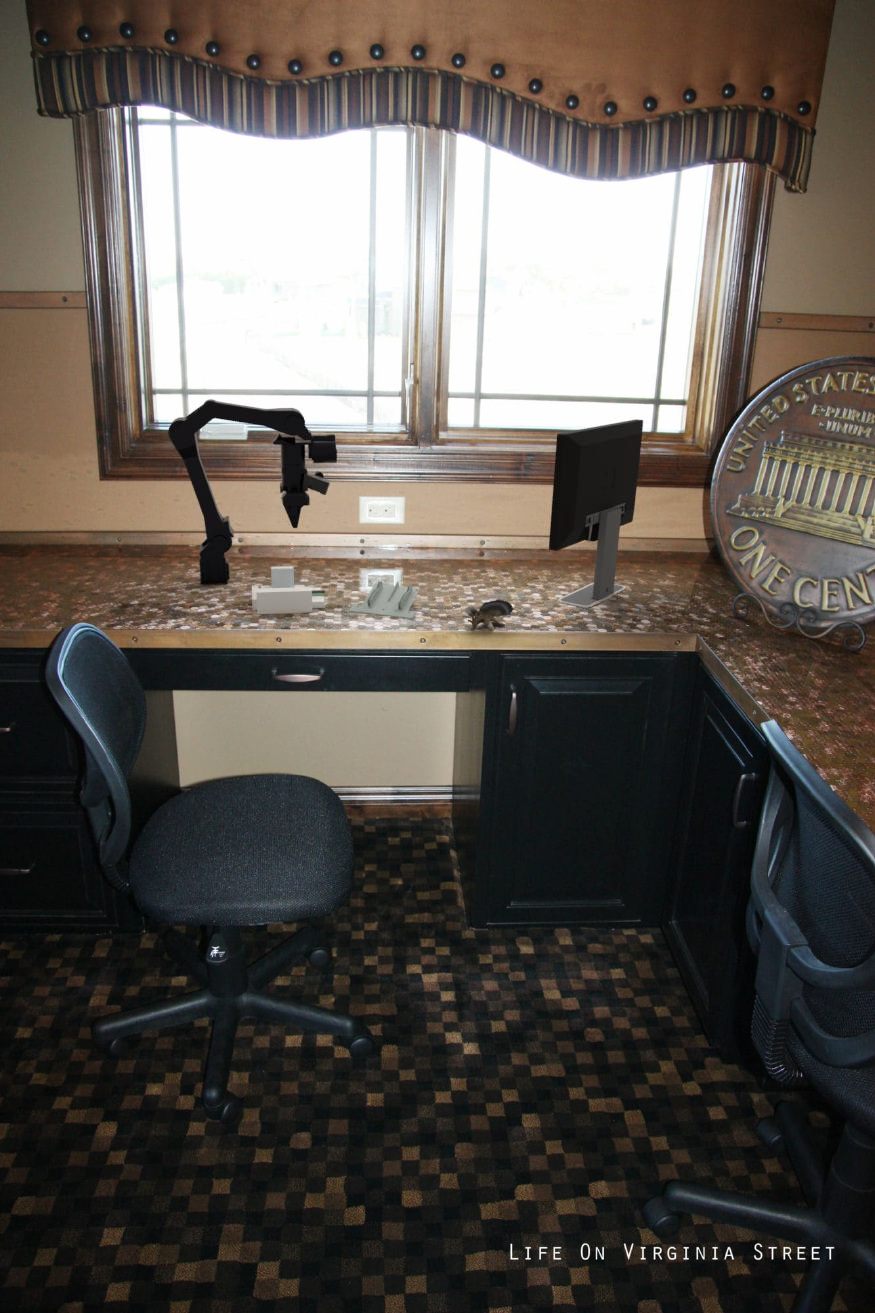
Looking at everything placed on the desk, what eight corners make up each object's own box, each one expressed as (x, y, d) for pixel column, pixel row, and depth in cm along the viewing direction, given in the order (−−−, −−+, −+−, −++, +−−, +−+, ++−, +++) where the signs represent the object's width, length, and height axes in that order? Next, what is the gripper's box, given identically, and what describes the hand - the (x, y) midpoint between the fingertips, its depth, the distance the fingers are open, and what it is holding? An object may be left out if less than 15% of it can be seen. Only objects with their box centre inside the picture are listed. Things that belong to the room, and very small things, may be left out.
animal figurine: (489, 633, 190) (520, 617, 195) (474, 602, 190) (505, 588, 195) (470, 642, 197) (500, 627, 202) (455, 613, 197) (486, 598, 202)
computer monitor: (612, 574, 240) (628, 418, 226) (642, 580, 236) (660, 421, 221) (535, 611, 209) (547, 432, 194) (568, 619, 204) (583, 436, 190)
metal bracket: (367, 574, 214) (428, 580, 210) (369, 595, 217) (430, 602, 213) (346, 607, 203) (410, 615, 199) (348, 629, 206) (412, 636, 202)
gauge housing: (252, 614, 201) (251, 592, 199) (252, 595, 214) (251, 575, 212) (325, 611, 204) (325, 590, 202) (320, 593, 217) (320, 573, 215)
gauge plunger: (261, 603, 207) (260, 571, 204) (261, 598, 210) (259, 566, 208) (325, 601, 209) (325, 570, 207) (324, 596, 213) (323, 565, 210)
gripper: (330, 469, 211) (331, 536, 216) (324, 457, 228) (325, 519, 233) (281, 469, 208) (283, 537, 214) (278, 457, 226) (280, 519, 231)
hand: (295, 527), depth 223 cm, fingers closed
